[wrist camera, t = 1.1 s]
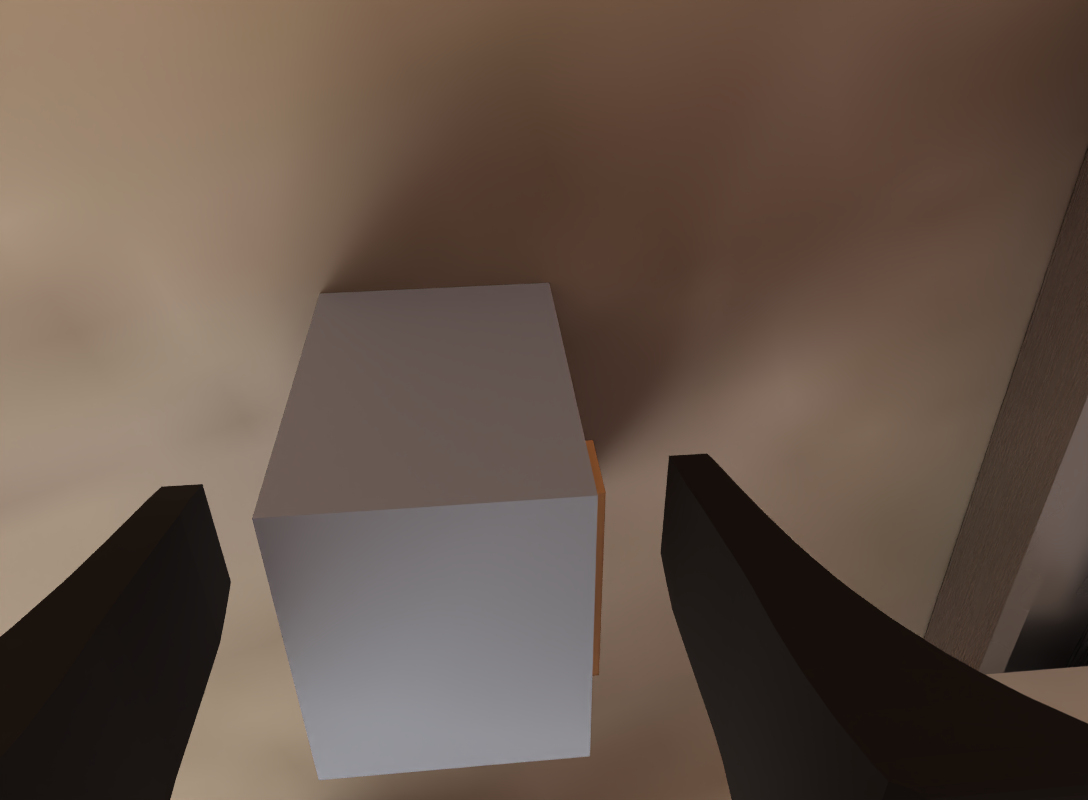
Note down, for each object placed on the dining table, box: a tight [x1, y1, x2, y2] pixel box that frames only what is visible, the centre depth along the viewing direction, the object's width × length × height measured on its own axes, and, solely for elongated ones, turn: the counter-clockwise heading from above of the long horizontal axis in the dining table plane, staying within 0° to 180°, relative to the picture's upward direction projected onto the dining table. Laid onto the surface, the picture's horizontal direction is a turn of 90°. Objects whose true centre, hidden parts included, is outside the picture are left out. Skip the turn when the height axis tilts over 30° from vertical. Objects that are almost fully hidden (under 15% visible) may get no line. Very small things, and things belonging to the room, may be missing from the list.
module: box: [252, 283, 606, 780], centre depth 14 cm, size 5×4×6 cm
